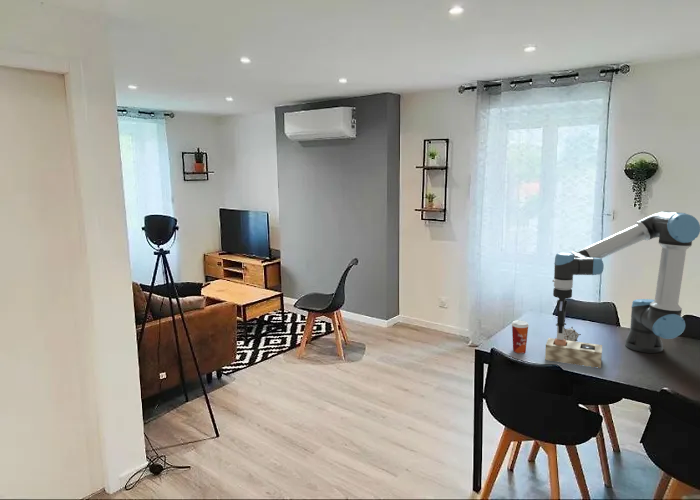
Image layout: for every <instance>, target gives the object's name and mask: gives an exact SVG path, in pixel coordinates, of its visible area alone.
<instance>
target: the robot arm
mask: <svg viewBox="0 0 700 500" xmlns="http://www.w3.org/2000/svg"><path fill="white" fill-rule="evenodd" d="M699 235H700V222H699V220H698V219H697V218H696V217H695V216H693V215H691V214H689V213H686V212H676V211H670V210H664V211H659V212H656V213H653V214H651V215H649V216H646V217H644V218H642V219H640V220H638V221H635V224H634V225H632V226H630V227H627V228H625V229H623V230H621V231H619V232H617V233H614V234H612V235H610V236H608V237H606V238H604V239H602V240H599V241H597V242H595V243H593V244H590V245H588V246H586V247H584V248H582V249H579V250H578V251H572V250H571V251H568V252H559V253H556V254H555V257H554V263H553V264H554V267H553V268H554V270H553V271H554V274H553V275H554V276H553V279H552V283H553V293H552V295H553V297H554V298H558V299H557V300H556V311H557V318H556V319H557V323H555V326H557V328H556V329H557V330H556V338H557V339H558V340H564V328H565V325H566V326H567V322H566V311H567V306H568V300H567V299H571V298H572V296H573V284H574V276H597V275H599V276H600V275H601V274H602V273H603V272H604V269H605V268H604V261H603V258H606V257H608V256H611V255H612V254H614V253H615V254H616V253H617V252H620V251H621V250H624V249H626V248H628V247H631V246H633V245H635V244H638V243H640V242H642V241H644V240H645V241H650V240H652V239H655V238H658V245H660V246H661V252H660V260H659V266H658V267H659V268H658V274H657V281H656V287H655V288H656V289H655V294H654V299H652V298H651V299H650V298H649V299H648V298H647V299H646V298H639V299H638V298H636V299H634V300H632V304H631V315H630V329H629V332H628V334H627V336H626V338H625V341H624V342H625V343H624V346H625V347H626V348H628V349H631V351H632V350H633V351H635V352H640V353H644V354H645V353H648V354H658V353H661V352H663V351H664V350H663V349H664V344H663V340H662V339H664V340H665V339H666V340H671V339H676V338H678V337H679V336H681V335H682V333H684V331H685V330H686V321H685V319H684V318H683V317H682V310H683V308H682V307H681V306H680V305H679V300H680V295H681V289H682V281H683V274H684V268H685V262H686V255H687V250H688V249H690V248H691V247H692V245H693V241H695V240H696V239H697V238H698V237H699ZM565 322H566V323H565Z"/></svg>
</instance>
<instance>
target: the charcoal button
mask: <svg viewBox="0 0 700 500" xmlns="http://www.w3.org/2000/svg"><path fill="white" fill-rule="evenodd" d="M582 348H583V349H591V350H594V348H593V347H592V346H588V345H584V346H582Z"/></svg>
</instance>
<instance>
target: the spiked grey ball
mask: <svg viewBox="0 0 700 500" xmlns="http://www.w3.org/2000/svg"><path fill="white" fill-rule="evenodd" d="M579 336H581V333H579V332H577V331H576V329H574V328H573V326H571V327H570V328H565V327H564V339H565V340H568V341H576V342H579V341H578V338H579Z"/></svg>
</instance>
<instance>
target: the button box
mask: <svg viewBox="0 0 700 500" xmlns="http://www.w3.org/2000/svg"><path fill="white" fill-rule="evenodd" d="M547 338H548V339H547V340H546V344H545V355H544V358H545V359H544V360H545V361H550V362H556V363H557V362H558V363H564V364H570V365H575V364H576V365H575V366H582V365H584V366H583V367H588V366H591V367H590V368H594V367H598V368H597V369H601V368H602V358H603V357H602V355H603V344H597V343H589V342H582V341H568V340H566V346H562V345H555V338H552V337H547ZM584 345H588V346H592V347H593V348H594V350H591V349H583V348H582V346H584Z"/></svg>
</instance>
